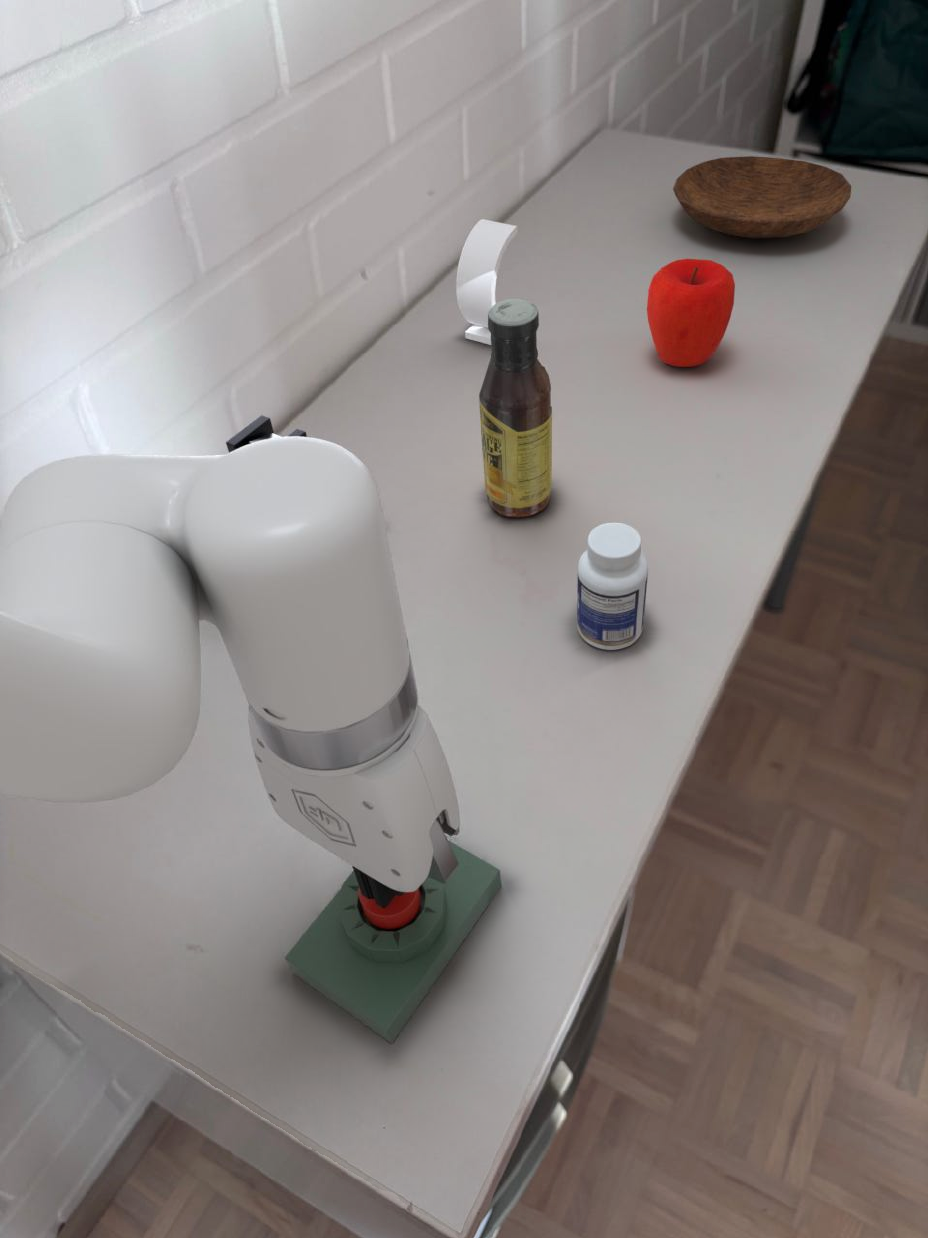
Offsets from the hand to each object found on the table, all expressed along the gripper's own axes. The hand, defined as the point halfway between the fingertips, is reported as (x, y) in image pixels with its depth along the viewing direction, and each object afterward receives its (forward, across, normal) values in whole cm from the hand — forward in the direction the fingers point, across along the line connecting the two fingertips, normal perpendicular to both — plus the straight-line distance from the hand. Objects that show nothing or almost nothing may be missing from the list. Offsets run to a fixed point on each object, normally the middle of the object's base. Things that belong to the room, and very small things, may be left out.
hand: (389, 882), depth 57 cm
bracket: (+6, -30, +24) cm, 39 cm away
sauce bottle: (+6, -16, +40) cm, 43 cm away
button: (+2, 0, 0) cm, 2 cm away
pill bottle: (+6, -1, +30) cm, 30 cm away
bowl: (+7, -19, +103) cm, 105 cm away
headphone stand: (+6, -35, +64) cm, 73 cm away
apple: (+6, -13, +69) cm, 70 cm away
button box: (+6, 0, 0) cm, 6 cm away
